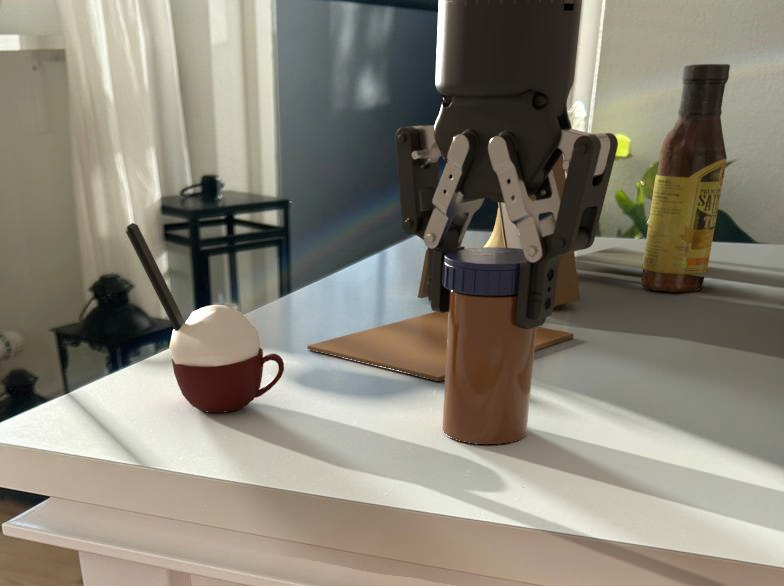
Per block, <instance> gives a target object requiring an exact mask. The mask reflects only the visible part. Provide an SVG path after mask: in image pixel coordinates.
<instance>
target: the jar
mask: <svg viewBox="0 0 784 586" xmlns="http://www.w3.org/2000/svg"><path fill="white" fill-rule="evenodd" d="M517 296H518V294H517V295H500V296H490V295H489V296H488V295H473V294H465V293H459V292H455V291H451V290H450V291H449V310H448V330H447V349H446V369H445V380H444V388H443V389H444V392H443V408H442V409H443V410H442V429H443V430H442V432H443V431H444V433H445V434H447V435H448V436H450V437H452V438H454V439H457V440H460V441H465V442H470V443H477V444H476V445H478V444H498V445H502V444H501V443H506V444H508V443H507V442H511V443H514V442H513V441H515V442H518V441H521V440H522V439H523V438H525V437H526V435H527V432H528V424H529V423H528V421H529V411H530V401H531V391H532V390H531V388H532V380H533V379H532V378H533V368H534V360H535V359H534V357H535V351H534V348H535V338H536V327H535V328H531V329H524V328H519V327H517V326H516V323H515V319H516V307H517ZM444 433H443V434H444ZM445 434H444V435H445ZM454 439H453V440H454ZM457 440H456V441H457ZM517 440H518V441H517ZM460 441H459V442H460ZM470 443H469V444H470Z"/></svg>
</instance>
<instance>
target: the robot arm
mask: <svg viewBox="0 0 784 586" xmlns="http://www.w3.org/2000/svg"><path fill="white" fill-rule="evenodd" d="M582 4H583V0H438V7H437V8H438V12H437V31H436V32H437V35H436V56H435V57H436V58H435V59H436V60H435V79H434V80H435V83H434V85H435V88H436V91H437V92H438V93H439V94H440V96H441V105H440V110H439V113H438V115H437V117H436V120H435V123H434V124H424V125H411V126H402V127H399V128H398V129H397V130H396V132H395V136H394V142H395V153H396V155H395V157H396V167H397V179H398V193H399V201H400V202H399V205H400V219H401V227H402V230H403V232H404V233H405V234H407V235H413V234H414V235H415V236H417V237H418V238H420V239H421V240H423V242H424V244H425V246H426V247H427V249H428V274H427V275H428V276H427V281H428V283H427V295H428V297H427V299H428V301H430V309H431V310H432V311H433V312H441V313H445V312H448V310H449V291H450V290H449V289H447V288H445V287H444V285H442V278H443V262H445V261H444V259H445V254H446V253H448V252H451V251H454V250H459V249H466V248H465V246H463V245H461V246H458V243H460V242H461V241H462V239H463V240H464V238H465V235H466V232H467V230H468V228H469V225H470V223H471V221H472V218H473V216H474V214H475V213H476V212H477V211H479V210H480V209H481V207H482V205H483V204H484V201H485V200H486V199H489V200H492V201H493V202H495V203H498V202H501V203H505V206H506V209H507V213H508V217H509V219H510V221H511V222H512V223H513V224H515V225H516V227H517V230H518V233H519V237H520V241H521V245H522V248H523V252H524V256H525V258H526V259H527V261H526V262H522V263H520V272H519V284H518V296H517V307H516V319H515V323H516V326H517V327H519V328H524V329H531V328H535V327H541V326H543V325H545V323H546V321H547V318H549V317H551V315H552V313H553V311H554V310H555V306H554V303H555V294H556V291H555V290H556V284H557V274H558V265H559V262H560V260H561V258H562V257H563V256H564V255H566V254H568V253H571V252H574V253H575V252H578V251H583V250H587V249H589V248H591V247H592V246H593V244H594V242H595V239H596V235H597V232H598V227H599V223H600V219H601V215H602V211H603V207H604V204H605V200H606V195H607V192H608V187H609V184H610V179H611V175H612V171H613V168H614V162H615V159H616V156H617V151H618V147H619V141H618V138H617V136H616V135H615V134H614V133H613V132H605V133H604V132H599V133H591V132H586V131H584V130H583V131H582V130H578V129H574V128H573V126H572V123H571V119H570V117H569V112H568V100H569V95H570V94H571V93H570V92H571V90H572V87H573V86H574V83H575V75H576V74H575V73H576V66H577V65H576V63H577V54H578V44H579V35H580V23H581V14H582ZM562 154H563V160H564V161H563V163H562V168H563V169H564V170H565V174H566V175H565V177H566V180H565V185H564V189H563V194H562V198H561V202H560V198H559V194H558V190H557V186H556V182H555V179H554V175H553V171H552V169H553V167H554V166H555V164H556V163H557V161H558V160H559V158H560V157H561V155H562ZM441 157H442V159H443V161H444V163H445V166H444V169H443V172H442V174H441V176H440V170H439V159H440V158H441ZM532 195H534V196H535V201H532V200H531V199H530V198H529V197H531V196H532ZM463 237H464V238H463ZM462 242H463V241H462Z"/></svg>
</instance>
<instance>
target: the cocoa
mask: <svg viewBox="0 0 784 586" xmlns="http://www.w3.org/2000/svg"><path fill="white" fill-rule="evenodd" d="M125 234H126V236H127V237H128V239H129V241H130V244H131V245H132V247H133V250H134V252H135V253H136V255H137V258H138V260H139V261H140V263H141V265H142V267H143V270H144V272H145V273H146V276H147V277H148V279H149V281H150V283H151V286H152V288H153V290H154V292H155V294H156V296H157V297H158V299H159V302H160V304H161V306H162V308H163V310H164V312H165V314H166V317H167V318H168V320H169V322H170V325H171V326H172V328H173V330H172V333H171V336H170V337H171V338H170V342H169V351H170V354H171V363H172V368H173V374H174V377H175V379H176V382H177V385H178V388H179V390H180V391H181V394H182V396H183V398H184V399H185V400H186V401H187V402H188V403H189V404H190V405H191V407H193V408H196V409H197V410H199V409H200V410H199V411H201V410H203V411H202V412H204V411H208V412H207V413H210V412H222V413H225V412H224V411H230V412H233V411H232V410H234V411H238V410H241V409H243V408H245V407H247V406H248V405H249V404H250V403H251V402H253V401H254V400H255V399H256V398H259V397H261V396H263V395H264V394H266V393H267V392H268V391H270V390H271V389H272V388H273V387H274V386H276V384H277V383H278V382H279V381H280V379H281V378H282V376H283V374H284V371H285V363H284V359H283V358H282V356H280V355H279V354H277V353H268V354H266V355H264V349H263V348H261V339H260V335H259V330H258V329H257V328H256V327H255V326H254V325H253V324H252V323H251V321H250V320H249V319H248V318H247V317H246V316H245V315H244V314H243V312H241V311H240V310H235V309H232V308H230V307H228V306H227V305H225V304H223V305H222V304H213V305H206V306H204V307H200V308H199V309H196V310H194V311H192V312H191V314H190V316H189V317H188V318H187V319H186V320H185V319H184V317H183V315H182V313H181V311H180V309H179V307H178V304H177V303H176V300H175V299H174V297H173V295H172V292H171V289H170V288H169V286H168V284H167V282H166V280H165V278H164V275H163V274H162V272H161V270H160V268H159V266H158V264H157V262H156V260H155V258H154V256H153V253H152V251H151V250H150V247H149V246H148V243H147V242H146V239H145V237H144V235H143V233H142V231H141V229H140V227H139V225H138V224H136V223H134V222H131V223H130V224H128V225H127V226H126V229H125ZM269 361H273V362H275V363H277V366H278V371H277V373H276V375H275V376H274V377H273V378H272V379H271V380H269V381H268V383H266V385H264V386H263V387H262V388H261V384H262V380H263V372H264V364H265V363H267V362H269ZM237 409H238V410H237Z"/></svg>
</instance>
